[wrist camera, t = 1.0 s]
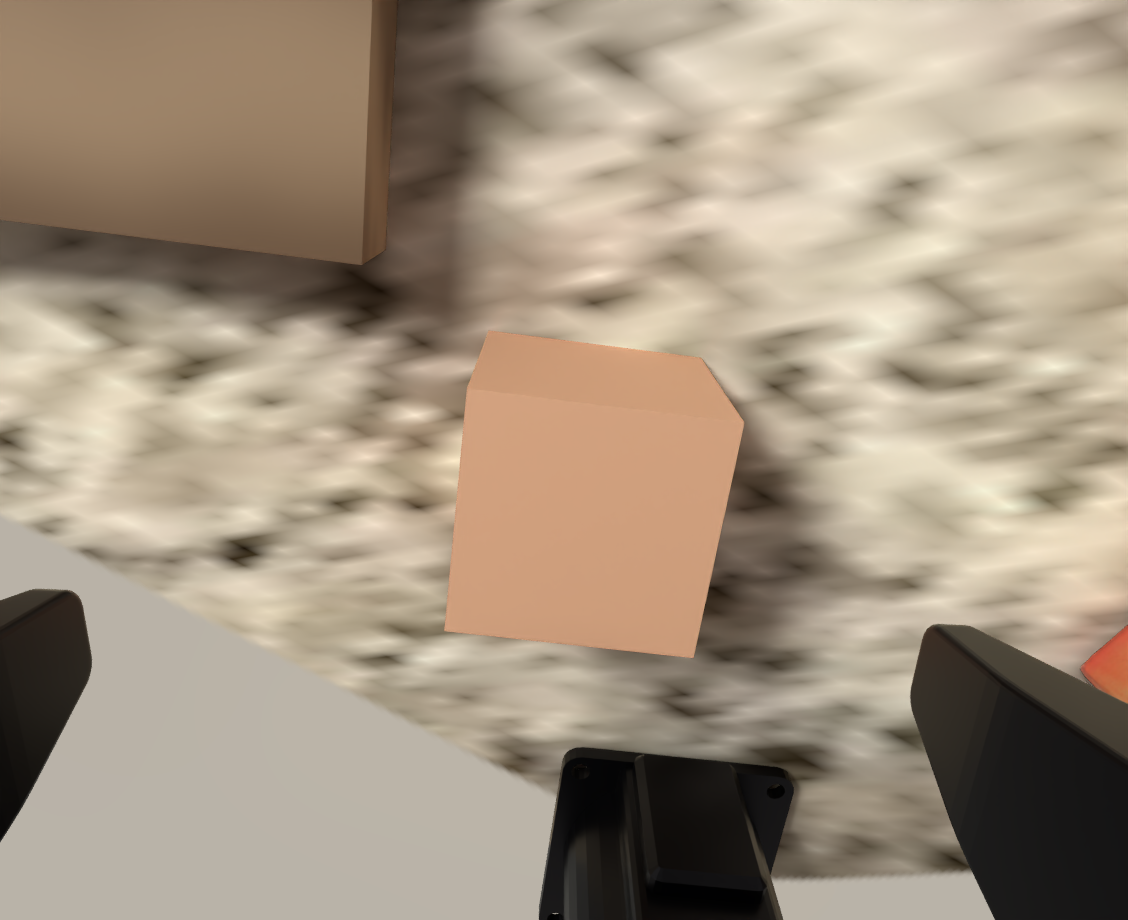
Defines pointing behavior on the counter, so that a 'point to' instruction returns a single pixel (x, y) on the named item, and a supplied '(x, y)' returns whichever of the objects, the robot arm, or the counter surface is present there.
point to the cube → (589, 495)
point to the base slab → (201, 121)
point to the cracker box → (1110, 667)
